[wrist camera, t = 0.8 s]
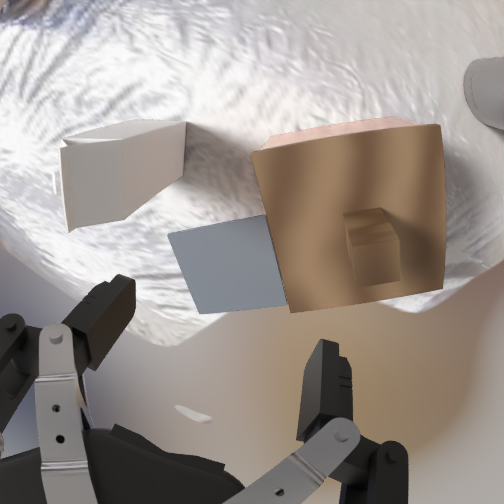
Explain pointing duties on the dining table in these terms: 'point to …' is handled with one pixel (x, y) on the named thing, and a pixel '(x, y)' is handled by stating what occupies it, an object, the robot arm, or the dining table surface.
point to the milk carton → (117, 169)
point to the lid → (357, 215)
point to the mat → (230, 265)
